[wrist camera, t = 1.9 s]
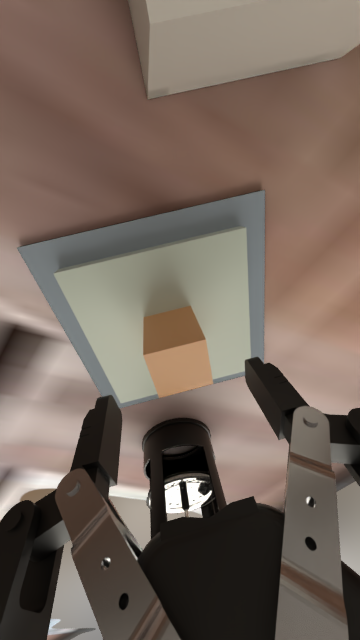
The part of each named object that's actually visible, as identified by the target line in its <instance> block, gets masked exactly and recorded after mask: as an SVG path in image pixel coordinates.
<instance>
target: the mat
mask: <svg viewBox="0 0 360 640" xmlns="http://www.w3.org/2000/svg"><path fill="white" fill-rule="evenodd" d="M238 226H242V227H246V231H247V260H248V289H249V317H250V346H251V358H253V357H259V358H260V359H261V361H262V362H263V363H264V267H265V190H261V191H257V192H253V193H248V194H244V195H240V196H236V197H231V198H227V199H223V200H218V201H214V202H210V203H206V204H201V205H197V206H193V207H188V208H184V209H180V210H176V211H171V212H167V213H163V214H158V215H154V216H150V217H146V218H141V219H137V220H133V221H128V222H124V223H120V224H116V225H111V226H107V227H103V228H98V229H94V230H90V231H85V232H81V233H77V234H73V235H68V236H64V237H60V238H55V239H51V240H47V241H43V242H38V243H34V244H30V245H25V246H21V247H18V248H17V249H18V251H19V253H20V254H21V256H22V258H23V259H24V261H25V263H26V265H27V266H28V268H29V270H30V272H31V273H32V275H33V277H34V279H35V280H36V282H37V284H38V286H39V287H40V289H41V291H42V293H43V294H44V296H45V298H46V300H47V301H48V303H49V305H50V307H51V308H52V310H53V312H54V313H55V315H56V317H57V319H58V320H59V322H60V324H61V326H62V327H63V329H64V331H65V333H66V334H67V336H68V338H69V340H70V341H71V343H72V345H73V347H74V348H75V350H76V352H77V354H78V355H79V357H80V359H81V360H82V362H83V364H84V366H85V367H86V369H87V371H88V373H89V374H90V376H91V378H92V380H93V381H94V383H95V385H96V387H97V388H98V390H99V392H100V394H101V395H102V397H104V396H107V395H112V396H113V397H114V399H115V401H116V403H117V405H118V407H119V408H123V407H127V406H130V405H134V404H138V403H142V402H146V401H150V400H153V399H157V398H159V396H158V394H155V395H151V396H148V397H144V398H140V399H136V400H132V401H128V402H125V403H120V401H119V399H118V397H117V395H116V393H115V391H114V390H113V388H112V386H111V384H110V382H109V380H108V378H107V376H106V374H105V372H104V370H103V368H102V367H101V365H100V363H99V361H98V359H97V357H96V355H95V353H94V351H93V349H92V347H91V345H90V343H89V342H88V340H87V338H86V336H85V334H84V332H83V330H82V328H81V326H80V324H79V322H78V320H77V318H76V317H75V315H74V313H73V311H72V309H71V307H70V305H69V303H68V301H67V299H66V297H65V295H64V294H63V292H62V290H61V288H60V286H59V284H58V282H57V280H56V278H55V276H54V274H53V273H55V272H56V271H57V270H58V269H61V268H65V267H69V266H74V265H78V264H82V263H86V262H91V261H95V260H99V259H103V258H107V257H112V256H116V255H120V254H124V253H128V252H133V251H137V250H141V249H145V248H149V247H154V246H158V245H162V244H166V243H170V242H175V241H179V240H183V239H187V238H191V237H196V236H200V235H204V234H208V233H213V232H217V231H221V230H225V229H229V228H234V227H238ZM242 376H245V371H244V372H240V373H236V374H232V375H228V376H225V377H221V378H217V379H213V384H215V383H219V382H222V381H226V380H230V379H234V378H238V377H242Z"/></svg>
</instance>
